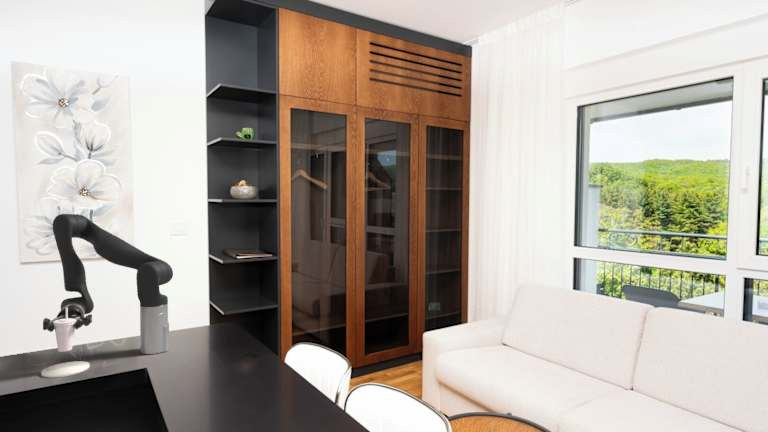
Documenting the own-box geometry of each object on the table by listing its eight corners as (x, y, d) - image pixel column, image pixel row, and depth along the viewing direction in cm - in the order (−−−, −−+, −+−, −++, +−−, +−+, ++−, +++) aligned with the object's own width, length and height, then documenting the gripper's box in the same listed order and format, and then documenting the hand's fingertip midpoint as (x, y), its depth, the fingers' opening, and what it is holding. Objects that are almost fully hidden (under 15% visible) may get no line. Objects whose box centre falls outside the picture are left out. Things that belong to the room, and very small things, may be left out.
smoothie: (67, 353, 146) (67, 309, 145) (48, 352, 146) (47, 309, 145) (81, 346, 152) (81, 305, 152) (62, 346, 152) (62, 305, 152)
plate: (94, 361, 157) (94, 359, 157) (82, 375, 145) (82, 372, 145) (50, 365, 153) (50, 363, 153) (34, 379, 141) (34, 377, 141)
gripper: (46, 307, 158) (36, 318, 143) (95, 303, 165) (90, 313, 150) (46, 328, 158) (36, 341, 143) (95, 324, 165) (90, 336, 150)
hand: (63, 327), depth 147 cm, fingers closed on smoothie, 6 cm apart
